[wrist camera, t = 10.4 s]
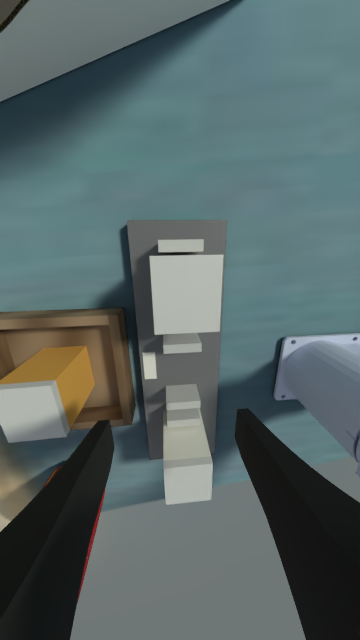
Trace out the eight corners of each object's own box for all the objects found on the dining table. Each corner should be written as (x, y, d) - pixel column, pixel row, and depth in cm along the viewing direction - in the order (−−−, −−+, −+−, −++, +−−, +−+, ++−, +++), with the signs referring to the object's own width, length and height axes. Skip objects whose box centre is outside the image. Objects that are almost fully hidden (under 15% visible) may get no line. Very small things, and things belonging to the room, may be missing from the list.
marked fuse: (86, 345, 18) (50, 385, 12) (94, 384, 19) (66, 436, 14) (42, 348, 18) (-15, 390, 12) (54, 388, 19) (8, 442, 13)
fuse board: (223, 222, 16) (238, 212, 13) (212, 445, 24) (220, 475, 21) (128, 222, 15) (119, 212, 12) (150, 451, 24) (148, 483, 20)
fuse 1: (202, 256, 16) (223, 254, 10) (201, 307, 17) (219, 331, 12) (154, 257, 16) (149, 255, 10) (157, 309, 17) (154, 334, 11)
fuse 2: (199, 407, 21) (212, 463, 15) (198, 438, 22) (211, 499, 17) (163, 410, 21) (163, 468, 15) (165, 441, 22) (165, 504, 16)
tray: (123, 307, 18) (117, 315, 15) (135, 406, 21) (131, 425, 19) (-8, 312, 17) (-36, 321, 14) (27, 414, 20) (9, 435, 18)
